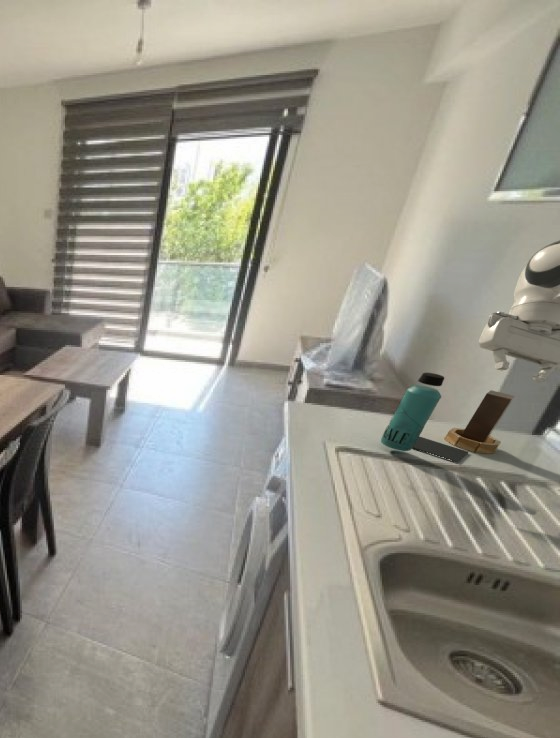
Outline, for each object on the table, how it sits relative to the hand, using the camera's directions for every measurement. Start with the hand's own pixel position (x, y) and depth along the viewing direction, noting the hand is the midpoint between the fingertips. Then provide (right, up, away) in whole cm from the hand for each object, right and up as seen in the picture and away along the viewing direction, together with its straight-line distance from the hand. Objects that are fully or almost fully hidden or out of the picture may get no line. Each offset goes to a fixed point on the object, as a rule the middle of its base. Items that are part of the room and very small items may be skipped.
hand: (520, 375), depth 116 cm
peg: (-3, -17, +8) cm, 19 cm away
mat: (-16, -18, +5) cm, 24 cm away
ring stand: (-3, -17, +8) cm, 19 cm away
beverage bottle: (-28, -18, +3) cm, 34 cm away
